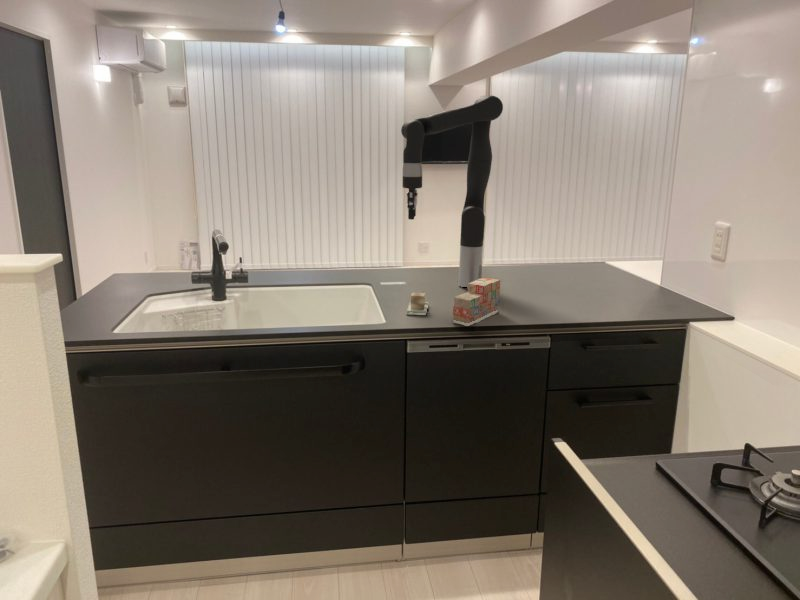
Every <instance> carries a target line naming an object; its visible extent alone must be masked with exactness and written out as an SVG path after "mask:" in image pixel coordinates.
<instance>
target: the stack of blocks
mask: <svg viewBox="0 0 800 600" xmlns="http://www.w3.org/2000/svg"><path fill="white" fill-rule="evenodd" d="M500 292H501V279H498V278H490V277H482V278H481V279H478V280H476V281H473V282H471V283H468V288H467V291H466V292H464V293H461V294H459V295H456V296H454V297H453V298H454V299H453V309H452V316H453V317H452V321H453V320H456V321H460V322H464V323H470V322H472V321H475V320H477V319H479V318H481V317H483V316H485V315H487V314H489V313H491V312H493V311H496V310H498V309H499V306H500ZM499 310H500V309H499Z"/></svg>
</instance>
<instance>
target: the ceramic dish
mask: <svg viewBox="0 0 800 600" xmlns="http://www.w3.org/2000/svg"><path fill="white" fill-rule="evenodd" d="M428 305H429V306H430V304H429V302H428V301H425V307H427V308H428V309H429V307H428ZM425 307H424V309H426V308H425ZM406 312H407V313H409V312H413V313H426V311H423V310H413V309H411V300H410V301H409V303H408V306H407V310H406Z"/></svg>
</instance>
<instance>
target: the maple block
mask: <svg viewBox="0 0 800 600" xmlns="http://www.w3.org/2000/svg"><path fill="white" fill-rule="evenodd" d="M425 300H426V292H411V295H410V301H411V309H413V310H424V307H425V302H426V301H425Z"/></svg>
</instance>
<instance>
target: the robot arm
mask: <svg viewBox="0 0 800 600" xmlns="http://www.w3.org/2000/svg"><path fill="white" fill-rule="evenodd" d="M503 110H504V104H503V102H502V100H501V99H500V97H497V96H495V95H482V96H479V97H477V99H476V100H475V101H474V102H473V104H470V105H466V106H463V107H459V108H454V109H453V108H452V109H448V110H444V111H441V112H436V113H433V114H431V115H428V116H427V115H426V116H425V117H419V118H416V119H414V118H413V119H410V120H407V121H405V122H404V123H403V124H402V126H401V135H402V137H404V139H405V140H406V144H405V147H404V149H403V155H402V156H403V157H402V159H403V160H402V161H403V162H402V188H404V189H408V192H407V193H406V198H407V199H406V204H407V211H408V213H407V214H408V215H407V217H408V220H415V217H416V214H417V212H416V211H417V210H416V209H417V203H418V197H419V196H418V195H419V194H418V193H419V192H418V190H417V189H422V188H423V164H422V163H423V162H422V160H423V158H422V157H423V153H422V152H423V151H422V150H423V147H424V141H425V137H426V136H428V135H434V134H440V133H442V132H446V131H448V130H452V129H455V128H458V127H461V126H462V127H463V126H464V125H468V124H472V126H471V128H472V130H471V136H470V137H471V138H470V145H469V146H470V147H469V151H468V152H469V154H468V160H467V170H466V195H465V201H464V204H463V205H464V206H463V209H462V212H461V219H460V220H461V221H460V222H461V223H460V241H459V243H460V245H459V246H460V247H459V267H458V287H459V286H462V287H468V283H471V282H473V281H476V280H478V279H482V278H483V277H482V273H483V251H484V250H483V249H484V248H483V247H484V238H485V223H486V217H485V214H484V213H485V211H484V209H485V208H484V207H485V206H484V205H485V193H486V189H487V186H488V183H489V180H490V175H491V170H492V162H493V152H492V145H491V141H490V140H491V139H490V129H491V123H492V121H494V120H497V119H498V118H499V117H500V116H501V115H502V114H503ZM462 287H461V288H462Z"/></svg>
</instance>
